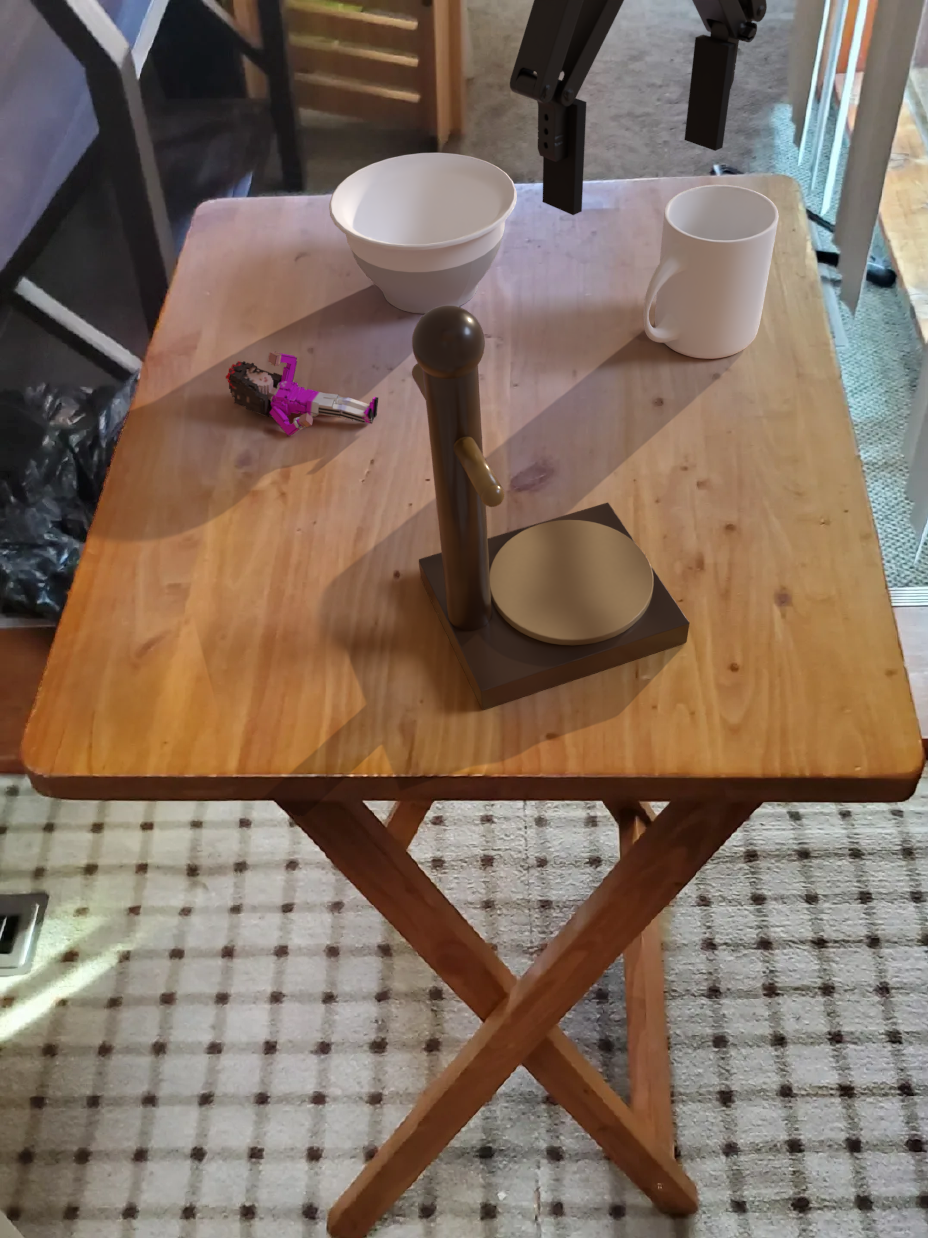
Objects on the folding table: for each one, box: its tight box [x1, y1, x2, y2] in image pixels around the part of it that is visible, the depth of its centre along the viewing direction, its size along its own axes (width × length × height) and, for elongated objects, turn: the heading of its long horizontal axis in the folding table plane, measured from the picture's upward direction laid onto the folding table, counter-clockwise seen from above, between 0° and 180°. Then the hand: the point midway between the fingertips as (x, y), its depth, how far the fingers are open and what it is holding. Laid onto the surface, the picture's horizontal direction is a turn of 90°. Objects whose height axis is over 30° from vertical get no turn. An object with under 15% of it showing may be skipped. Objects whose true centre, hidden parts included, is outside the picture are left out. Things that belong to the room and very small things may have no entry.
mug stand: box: [411, 305, 690, 711], centre depth 62 cm, size 14×12×24 cm
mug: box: [642, 184, 780, 360], centre depth 86 cm, size 9×12×11 cm
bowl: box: [328, 152, 518, 315], centre depth 94 cm, size 16×16×8 cm
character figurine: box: [225, 351, 379, 436], centre depth 84 cm, size 6×5×12 cm
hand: (635, 174), depth 71 cm, fingers open, 13 cm apart
